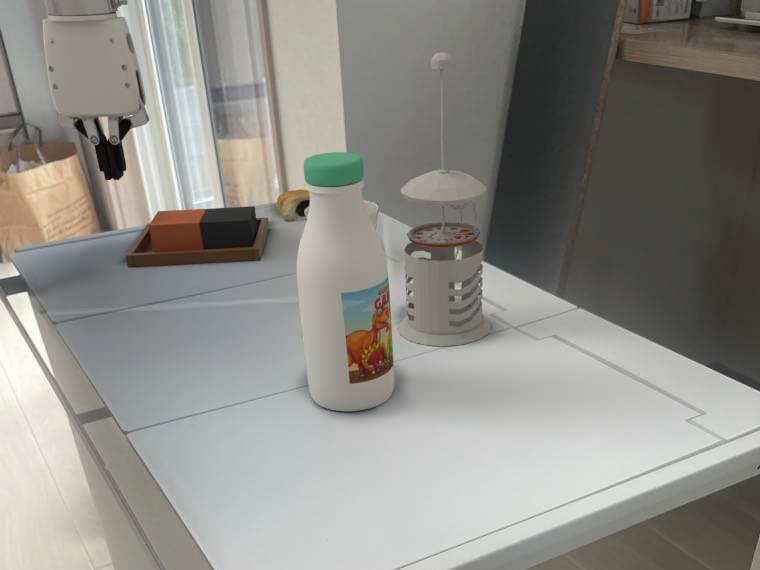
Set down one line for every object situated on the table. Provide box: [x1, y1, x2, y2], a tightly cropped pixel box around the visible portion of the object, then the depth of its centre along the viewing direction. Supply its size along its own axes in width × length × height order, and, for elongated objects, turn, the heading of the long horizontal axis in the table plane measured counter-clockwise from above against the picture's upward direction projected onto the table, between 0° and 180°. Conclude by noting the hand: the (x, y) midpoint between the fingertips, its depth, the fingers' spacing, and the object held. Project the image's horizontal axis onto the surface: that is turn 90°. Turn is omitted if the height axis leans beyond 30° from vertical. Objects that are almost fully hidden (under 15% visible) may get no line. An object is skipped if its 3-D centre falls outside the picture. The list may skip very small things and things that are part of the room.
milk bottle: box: [296, 151, 395, 412], centre depth 70 cm, size 8×8×20 cm
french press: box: [397, 51, 492, 347], centre depth 81 cm, size 10×12×25 cm
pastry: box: [276, 189, 310, 222], centre depth 122 cm, size 9×7×4 cm
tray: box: [124, 217, 270, 269], centre depth 110 cm, size 17×14×2 cm
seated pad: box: [199, 205, 258, 250], centre depth 110 cm, size 6×6×4 cm
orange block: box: [148, 208, 207, 252], centre depth 109 cm, size 6×6×4 cm
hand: (114, 177), depth 105 cm, fingers closed
